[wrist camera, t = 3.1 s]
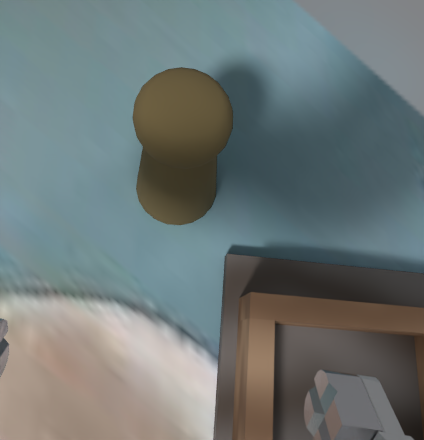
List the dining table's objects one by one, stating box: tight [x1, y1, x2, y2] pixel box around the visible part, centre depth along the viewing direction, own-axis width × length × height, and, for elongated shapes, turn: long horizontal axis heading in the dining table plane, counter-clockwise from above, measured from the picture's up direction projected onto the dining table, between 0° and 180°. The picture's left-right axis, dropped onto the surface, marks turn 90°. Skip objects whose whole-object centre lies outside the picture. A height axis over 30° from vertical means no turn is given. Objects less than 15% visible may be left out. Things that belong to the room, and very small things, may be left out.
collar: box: [213, 254, 424, 440], centre depth 23 cm, size 20×16×4 cm
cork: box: [133, 67, 233, 225], centre depth 23 cm, size 6×6×11 cm
